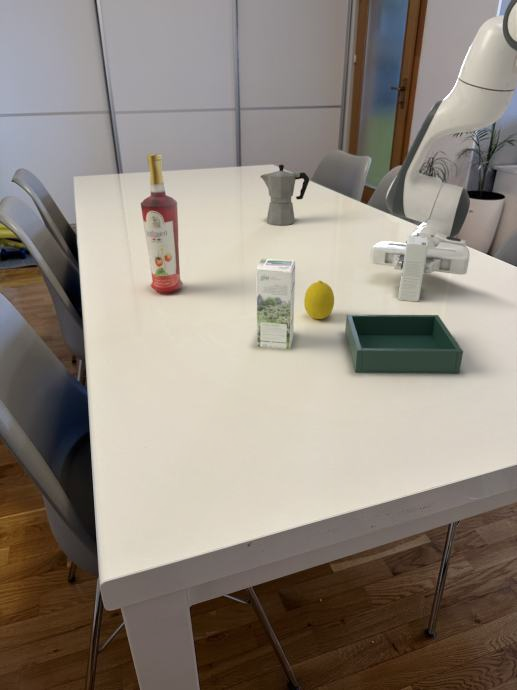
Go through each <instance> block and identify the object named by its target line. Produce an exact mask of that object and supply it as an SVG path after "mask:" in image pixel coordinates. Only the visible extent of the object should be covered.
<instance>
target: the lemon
mask: <svg viewBox="0 0 517 690" xmlns="http://www.w3.org/2000/svg"><path fill="white" fill-rule="evenodd" d="M303 302H304V303H303V305H304V310H305V311H306V314H307V315H308V316H309V317H311V318H312V319H315V320H323V319H326V318H327V317H329V316H330V315H331V314H332V313H333V309H334V307H335V294H334V291H333V289H332V287H331V286H330V285H329V284H328V283H326V282H323V281H322V280H318V281H316V282H313V283H312V284H310V285H309V286H308V288H307V289H306V291H305V293H304V301H303Z"/></svg>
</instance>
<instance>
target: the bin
mask: <svg viewBox="0 0 517 690" xmlns="http://www.w3.org/2000/svg"><path fill="white" fill-rule="evenodd" d="M345 318H346V319H345V329H344V330H345V332H344V333H345V334H344V336H345V339H346V343H347V347H348V351H349V355H350V358H351V363H352V366H353V369H354V373H355V374H427V375H428V374H429V375H432V374H434V375H435V374H437V375H441V374H442V375H445V374H446V375H459V374H460V370H461V366H462V360H463V355H464V350H463V349H462V348H461V346H460V345H459V343H458V342H457V340H456V338H454V336H453V334H452V332H451V331H450V330H449V328H448V326H446V325H445V323H444V322H443V320H442V318H441V317H440V316H439V315H438V314H349V313H348V314H346V317H345Z"/></svg>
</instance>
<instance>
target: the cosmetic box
mask: <svg viewBox="0 0 517 690" xmlns="http://www.w3.org/2000/svg"><path fill="white" fill-rule="evenodd" d="M406 241H407V244H406V250H405V256H404V262H403V268H402V270H401V276H400V283H399V289H398V296H397V297H398V298H397V299H398V300H399V301H405V302H419V301H420V297H421V292H422V291H421V290H422V286H423V285H422V284H423V279H424V274H425V273H424V268H425V263H426V257H427V251H428V237H417V236H411V235H407V237H406Z"/></svg>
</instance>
